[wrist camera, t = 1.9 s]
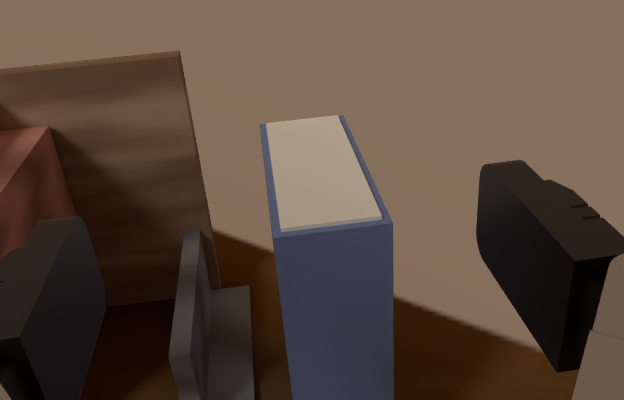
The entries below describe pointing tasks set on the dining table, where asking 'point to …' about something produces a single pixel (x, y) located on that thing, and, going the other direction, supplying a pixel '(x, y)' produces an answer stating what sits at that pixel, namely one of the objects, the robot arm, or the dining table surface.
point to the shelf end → (128, 201)
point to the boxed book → (330, 261)
